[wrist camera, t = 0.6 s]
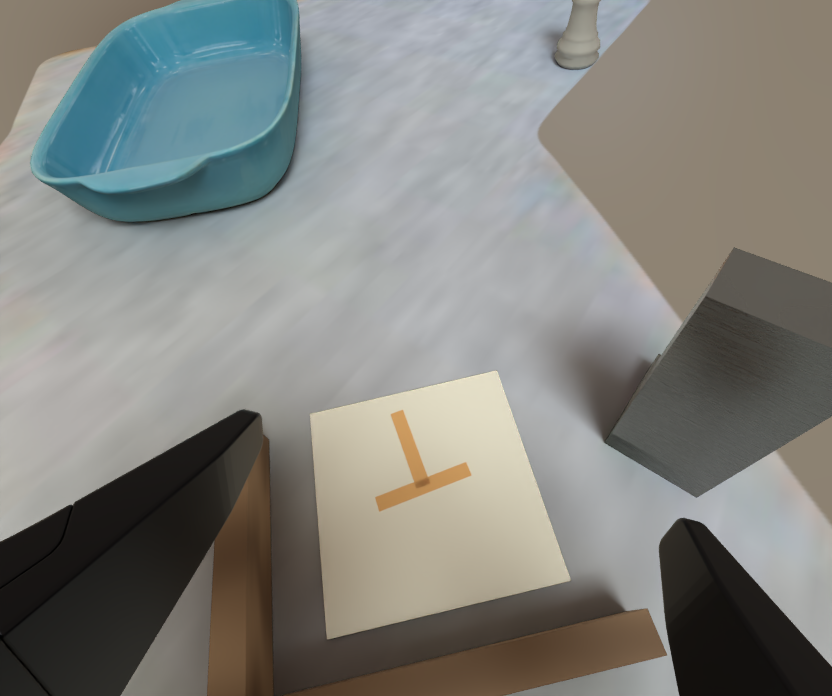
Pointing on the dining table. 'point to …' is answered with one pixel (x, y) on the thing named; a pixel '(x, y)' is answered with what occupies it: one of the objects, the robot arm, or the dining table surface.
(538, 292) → the dining table surface
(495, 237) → the dining table surface
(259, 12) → the casserole dish
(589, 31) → the rook chess piece
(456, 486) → the pad
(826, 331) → the upright grey pillar block
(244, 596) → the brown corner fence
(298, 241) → the dining table surface
